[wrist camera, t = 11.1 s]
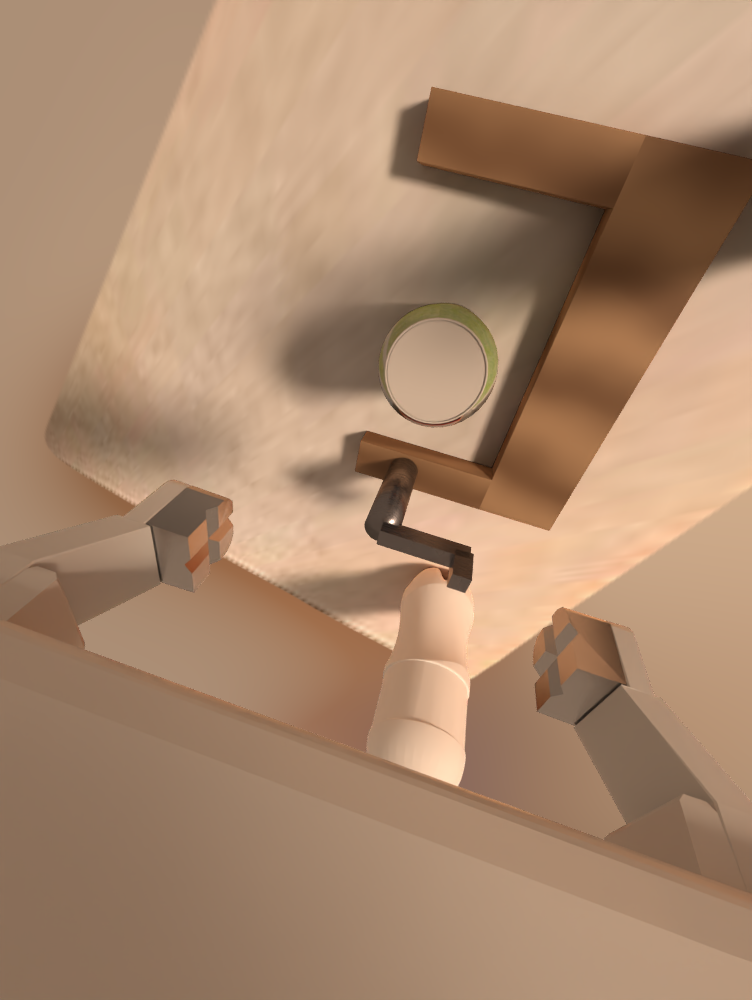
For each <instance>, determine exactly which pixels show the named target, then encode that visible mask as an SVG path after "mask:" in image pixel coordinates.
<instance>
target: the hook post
mask: <svg viewBox="0 0 752 1000" xmlns="http://www.w3.org/2000/svg"><path fill="white" fill-rule="evenodd" d="M417 473H418V469H417V466H416V464H415V463H414V462H413V461H412V460H410V459H408V458H404V457H400V458H396V459H395V460H393V461H392V462H391V464H390V466H389V468H388V471H387V473H386V475H385V478H384V480H383V482H382V484H381V487H380V489H379V491H378V494H377V496H376V498H375V500H374V503H373V505H372V507H371V510H370V512H369V514H368V517H367V519H366V521H365V530H366V532H367V534H368V535H369V536H370V537H371V538H373V539H374V540H377V544H378V545H381V546H384V547H387V548H390V549H393V550H397V551H400V552H403V553H406V554H409V555H412V556H415V557H419V558H422V559H425V560H428V561H431V562H434V563H437V564H440V565H444V566H447V567H449V573H448V580H447V587H448V588H451V589H454V590H457V591H460V592H463V593H466V591H467V589H468V587H469V585H470V583H471V581H472V570H473V556H474V554H472V553H471V547H469V546H466V545H463V544H459V543H456V542H453V541H450V540H447V539H444V538H440V537H437V536H434V535H431V534H428V533H424V532H421V531H418V530H415V529H412V528H409V527H405V526H402V522H403V519H404V515H405V512H406V509H407V506H408V502H409V499H410V496H411V493H412V490H413V486H414V483H415V480H416V477H417Z"/></svg>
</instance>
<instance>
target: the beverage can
mask: <svg viewBox="0 0 752 1000" xmlns="http://www.w3.org/2000/svg"><path fill="white" fill-rule="evenodd" d="M378 370H379V380H380V384H381V388H382V390H383V392H384V395H385V397H386V399H387V400H388V402H389V403H390V405H391V406H392V407H393V408H394V409H395V410H396V412H397V413H399V414H400V415H401V416H403V417H404V418H405V419H407V420H409V421H411V422H413V423H415V424H418V425H421V426H426V427H446V426H450V425H454V424H457V423H459V422H462V421H464V420H465V419H467V418H469V417H470V416H472V415H473V414H474V413H475V412H476V411H478V410H479V409H480V408H481V406H482V405H483V404H484V403H485V402H486V400H487V399H488V397H489V395H490V394H491V392H492V389H493V387H494V384H495V382H496V377H497V372H498V354H497V348H496V345H495V342H494V339H493V337H492V335H491V333H490V331H489V330H488V328H487V327H486V326H485V324H484V323H483V322H482V321H481V320H480V319H479V318H478V317H477V316H476V315H475V314H474V313H472V312H471V311H470V310H469V309H467V308H465V307H463V306H460V305H457V304H451V303H440V304H430V305H426V306H423V307H419V308H417V309H415V310H413V311H411V312H409V313H408V314H407V315H405V316H404V317H403V318H401V319H400V320H399V321H398V322H397V323H396V324H395V325H394V326H393V327H392V329H391V330H390V332H389V333H388V335H387V336H386V339H385V341H384V343H383V345H382V348H381V352H380V356H379V366H378Z"/></svg>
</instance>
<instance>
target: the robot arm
mask: <svg viewBox="0 0 752 1000" xmlns="http://www.w3.org/2000/svg"><path fill="white" fill-rule="evenodd" d="M232 513H233V503H232V501H231V500H230V499H229V498H226V497H223V496H220V495H218V494H215V493H212V492H209V491H206V490H203V489H201V488H198V487H195V486H191V485H188V484H185V483H182V482H179V481H177V480H170V481H167V482H166V483H164V484H163V485H162V486H161V487H159V488H158V489H157V490H156V491H154V492H153V493H152V494H151V495H149V496H148V497H147V498H146V499H144V500H143V501H142V502H141V503H139V504H138V505H137V506H136V507H134V508H133V509H132V510H131V511H129V512H128V513H127V514H126V515H124V516H123V517H122V516H119V515H115V516H111V517H107V518H103V519H100V520H96V521H92V522H89V523H85V524H81V525H77V526H74V527H70V528H66V529H62V530H59V531H55V532H51V533H48V534H44V535H40V536H36V537H33V538H29V539H25V540H21V541H17V542H14V543H11V544H6V545H3V546H0V1000H752V802H751V801H750V800H749V799H748V798H747V796H746V795H745V794H744V793H743V792H742V790H740V788H739V787H738V786H737V785H736V784H735V782H734V781H733V780H732V779H731V778H730V777H729V776H728V774H727V773H726V772H725V771H724V770H723V769H722V767H721V766H720V765H719V764H718V763H717V762H716V761H715V759H714V758H713V757H712V756H711V755H710V754H709V752H708V751H707V750H706V749H705V748H704V747H703V745H702V744H701V743H700V742H699V741H698V740H697V739H696V738H695V736H694V735H693V734H692V733H691V732H690V731H689V729H688V728H687V727H686V726H685V725H684V724H683V722H682V721H681V720H680V719H679V718H678V717H677V716H676V714H675V713H674V712H673V711H672V710H671V709H670V707H669V706H668V705H667V704H666V703H665V702H664V701H663V699H662V698H659V697H657V696H654V693H653V690H652V687H651V684H650V681H649V678H648V675H647V672H646V669H645V666H644V663H643V660H642V657H641V654H640V651H639V647H638V644H637V641H636V638H635V635H634V633H633V631H632V630H631V629H630V628H628V627H625V626H622V625H618V624H615V623H612V622H608V621H604V620H602V619H599V618H596V617H592V616H589V615H586V614H583V613H580V612H577V611H574V610H570V609H567V608H564V607H561V608H559V609H558V610H557V611H556V612H555V613H554V614H553V616H552V622H553V625H551V626H548V627H545V628H543V629H542V630H541V632H540V633H539V635H538V636H537V639H536V642H535V645H534V650H533V666H534V668H535V669H536V671H537V672H538V674H539V676H540V678H539V679H538V681H537V682H536V683H535V693H536V705H537V712H539V713H542V714H545V715H547V716H550V717H553V718H556V719H558V720H561V721H563V722H566V723H569V724H571V725H574V726H575V727H574V729H575V731H576V732H577V734H578V736H579V738H580V740H581V741H582V743H583V745H584V747H585V749H586V751H587V753H588V754H589V756H590V758H591V760H592V762H593V763H594V765H595V767H596V769H597V771H598V773H599V774H600V776H601V778H602V780H603V782H604V784H605V785H606V787H607V789H608V791H609V793H610V795H611V796H612V798H613V800H614V802H615V804H616V805H617V807H618V809H619V811H620V813H621V814H622V816H623V818H624V820H625V822H626V825H625V826H622V827H621V828H619V829H617V830H615V831H613V832H611V833H609V834H608V835H607V836H606V837H605V838H604V840H603V839H600V838H598V837H595V836H592V835H589V834H587V833H584V832H581V831H578V830H576V829H573V828H570V827H567V826H565V825H562V824H559V823H557V822H554V821H551V820H548V819H546V818H543V817H540V816H537V815H535V814H532V813H529V812H527V811H524V810H521V809H518V808H515V807H513V806H510V805H507V804H505V803H502V802H499V801H496V800H494V799H491V798H488V797H486V796H483V795H480V794H477V793H475V792H472V791H469V790H466V789H464V788H461V787H458V786H456V785H453V784H450V783H448V782H445V781H442V780H439V779H437V778H434V777H431V776H429V775H426V774H423V773H420V772H418V771H415V770H412V769H409V768H407V767H404V766H401V765H399V764H396V763H393V762H390V761H388V760H385V759H382V758H380V757H377V756H374V755H371V754H369V753H366V752H363V751H360V750H358V749H355V748H352V747H349V746H347V745H344V744H341V743H339V742H336V741H333V740H330V739H327V738H325V737H322V736H319V735H317V734H314V733H311V732H309V731H306V730H303V729H300V728H297V727H295V726H292V725H289V724H287V723H284V722H281V721H278V720H276V719H273V718H270V717H267V716H265V715H262V714H259V713H256V712H254V711H251V710H248V709H246V708H243V707H240V706H237V705H235V704H232V703H229V702H226V701H224V700H221V699H218V698H216V697H213V696H210V695H207V694H205V693H202V692H199V691H196V690H194V689H191V688H188V687H186V686H183V685H180V684H177V683H174V682H172V681H169V680H166V679H164V678H161V677H158V676H155V675H153V674H150V673H147V672H144V671H142V670H139V669H136V668H134V667H131V666H128V665H125V664H123V663H120V662H117V661H114V660H112V659H109V658H106V657H104V656H101V655H98V654H95V653H93V652H90V651H87V650H84V649H85V642H84V640H83V637H82V635H81V632H80V630H79V627H78V625H80V624H82V623H84V622H86V621H88V620H90V619H92V618H94V617H96V616H98V615H100V614H102V613H104V612H106V611H108V610H110V609H111V608H114V607H116V606H118V605H120V604H121V603H124V602H126V601H128V600H130V599H132V598H134V597H136V596H138V595H140V594H142V593H144V592H146V591H148V590H149V589H152V588H154V587H156V586H158V585H159V584H160V582H162V583H165V584H168V585H171V586H175V587H178V588H181V589H184V590H187V591H190V592H195V591H196V589H197V588H198V587H199V586H200V585H201V583H202V582H203V581H204V580H205V578H206V577H207V576H208V575H209V573H210V564H212V563H214V562H217V561H219V560H221V559H222V557H223V556H224V555H225V553H226V552H227V550H228V548H229V546H230V544H231V541H232V537H233V524H232V523H231V521H230V520H229V518H228V517H229V516H230V515H231V514H232Z"/></svg>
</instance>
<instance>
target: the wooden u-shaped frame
mask: <svg viewBox="0 0 752 1000" xmlns="http://www.w3.org/2000/svg"><path fill="white" fill-rule="evenodd" d="M417 161H418V162H419V163H420V164H422V165H425V166H429V167H433V168H437V169H441V170H446V171H450V172H454V173H458V174H462V175H466V176H470V177H475V178H479V179H483V180H487V181H491V182H495V183H499V184H503V185H508V186H512V187H516V188H520V189H524V190H528V191H532V192H537V193H541V194H545V195H549V196H553V197H557V198H561V199H565V200H570V201H574V202H578V203H582V204H586V205H590V206H594V207H598V208H603V209H605V211H604V214H603V216H602V218H601V221H600V223H599V225H598V227H597V230H596V232H595V234H594V237H593V239H592V241H591V243H590V246H589V248H588V250H587V253H586V255H585V257H584V259H583V262H582V264H581V266H580V268H579V271H578V273H577V275H576V278H575V280H574V282H573V284H572V287H571V289H570V291H569V294H568V296H567V298H566V300H565V303H564V305H563V307H562V310H561V312H560V314H559V316H558V319H557V321H556V323H555V326H554V328H553V330H552V332H551V335H550V337H549V339H548V342H547V344H546V346H545V348H544V351H543V353H542V355H541V358H540V360H539V362H538V364H537V367H536V369H535V371H534V374H533V376H532V378H531V380H530V383H529V385H528V387H527V390H526V392H525V394H524V396H523V399H522V401H521V403H520V406H519V408H518V410H517V412H516V415H515V417H514V419H513V421H512V424H511V426H510V428H509V431H508V433H507V435H506V437H505V440H504V442H503V444H502V447H501V449H500V451H499V453H498V456H497V458H496V460H495V463H494V465H493V467H492V468H490V467H487V466H484V465H480V464H477V463H474V462H470V461H467V460H463V459H460V458H457V457H453V456H450V455H447V454H443V453H440V452H437V451H433V450H430V449H427V448H423V447H420V446H416V445H413V444H410V443H406V442H403V441H400V440H396V439H393V438H390V437H386V436H383V435H380V434H376V433H373V432H369V431H367V432H366V433H365V435H364V437H363V438H362V440H361V443H360V448H359V453H358V458H357V463H356V468H355V471H356V472H359V473H363V474H366V475H369V476H372V477H376V478H379V479H382V480H384V478H385V475H386V473H387V471H388V468H389V466H390V464H391V462H392V461H393V460H395V459H396V458H400V457H404V458H408V459H410V460H412V461H413V462H414V463H415V464H416V466H417V469H418V473H417V477H416V480H415V483H414V486H413V489H415V490H418V491H421V492H425V493H428V494H431V495H434V496H438V497H441V498H444V499H447V500H451V501H454V502H457V503H460V504H464V505H467V506H470V507H474V508H477V509H480V510H483V511H487V512H490V513H493V514H496V515H500V516H503V517H506V518H509V519H513V520H516V521H519V522H522V523H526V524H529V525H532V526H535V527H539V528H542V529H545V530H550V529H551V527H552V525H553V524H554V522H555V520H556V519H557V517H558V515H559V514H560V512H561V511H562V509H563V507H564V506H565V504H566V502H567V501H568V499H569V497H570V496H571V494H572V492H573V491H574V489H575V487H576V486H577V484H578V482H579V481H580V479H581V477H582V476H583V474H584V472H585V471H586V469H587V467H588V466H589V464H590V462H591V461H592V459H593V457H594V456H595V454H596V453H597V451H598V449H599V448H600V446H601V444H602V443H603V441H604V439H605V438H606V436H607V434H608V433H609V431H610V429H611V428H612V426H613V424H614V423H615V421H616V419H617V418H618V416H619V414H620V413H621V411H622V409H623V408H624V406H625V404H626V403H627V401H628V400H629V398H630V396H631V395H632V393H633V391H634V390H635V388H636V386H637V385H638V383H639V381H640V380H641V378H642V376H643V375H644V373H645V371H646V370H647V368H648V366H649V365H650V363H651V361H652V360H653V358H654V356H655V355H656V353H657V351H658V350H659V348H660V347H661V345H662V343H663V342H664V340H665V338H666V337H667V335H668V333H669V332H670V330H671V328H672V327H673V325H674V323H675V322H676V320H677V318H678V317H679V315H680V313H681V312H682V310H683V308H684V307H685V305H686V303H687V302H688V300H689V298H690V297H691V295H692V293H693V292H694V290H695V289H696V287H697V285H698V284H699V282H700V280H701V279H702V277H703V275H704V274H705V272H706V270H707V269H708V267H709V265H710V264H711V262H712V260H713V259H714V257H715V255H716V254H717V252H718V250H719V249H720V247H721V245H722V244H723V242H724V240H725V239H726V237H727V236H728V234H729V232H730V231H731V229H732V227H733V226H734V224H735V222H736V221H737V219H738V217H739V216H740V214H741V212H742V211H743V209H744V207H745V206H746V204H747V202H748V201H749V199H750V197H751V196H752V159H749V158H745V157H740V156H736V155H731V154H727V153H722V152H718V151H714V150H709V149H705V148H700V147H696V146H691V145H687V144H683V143H678V142H674V141H669V140H665V139H661V138H656V137H652V136H647V135H643V134H638V133H634V132H630V131H625V130H621V129H616V128H612V127H607V126H603V125H599V124H594V123H590V122H585V121H581V120H577V119H572V118H568V117H563V116H559V115H554V114H550V113H546V112H541V111H537V110H532V109H528V108H523V107H519V106H515V105H510V104H506V103H501V102H497V101H493V100H488V99H484V98H479V97H475V96H470V95H466V94H462V93H457V92H453V91H448V90H444V89H439V88H435V87H431V92H430V97H429V102H428V107H427V112H426V117H425V122H424V127H423V132H422V137H421V142H420V147H419V152H418V157H417Z"/></svg>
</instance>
